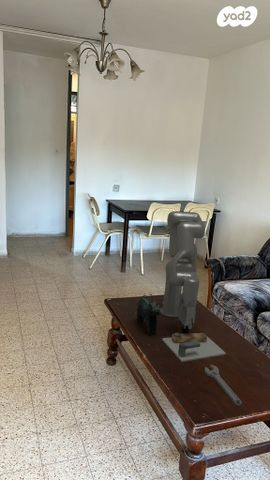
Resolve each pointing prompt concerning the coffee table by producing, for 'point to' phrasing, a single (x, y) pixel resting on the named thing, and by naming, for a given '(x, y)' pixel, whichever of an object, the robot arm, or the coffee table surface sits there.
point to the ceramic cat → (148, 314)
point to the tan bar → (189, 337)
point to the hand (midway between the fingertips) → (184, 334)
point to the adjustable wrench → (222, 384)
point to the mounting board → (193, 349)
